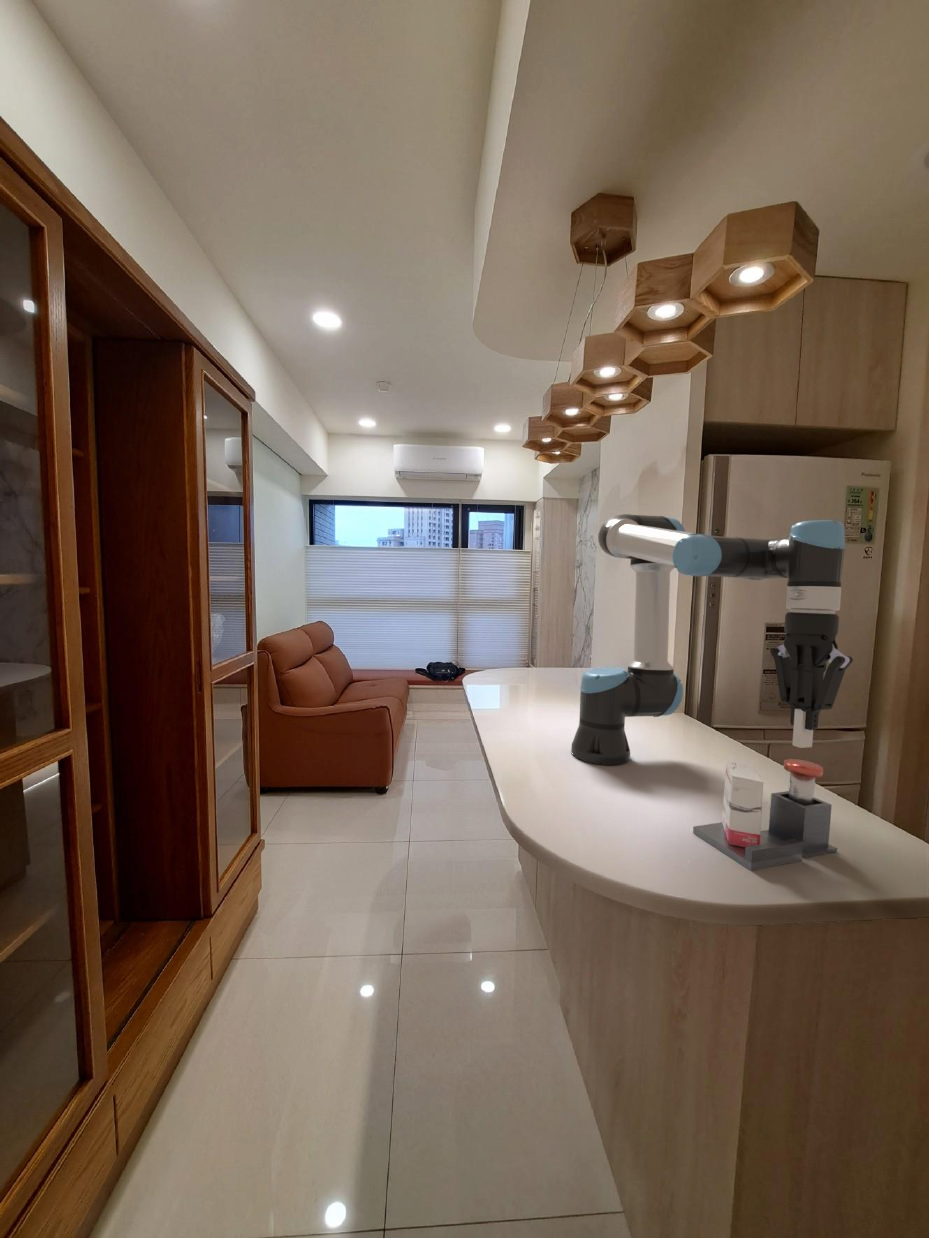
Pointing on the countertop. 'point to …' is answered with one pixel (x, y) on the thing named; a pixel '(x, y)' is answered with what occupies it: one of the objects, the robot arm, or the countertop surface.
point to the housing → (801, 823)
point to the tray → (752, 848)
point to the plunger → (802, 780)
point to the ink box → (742, 805)
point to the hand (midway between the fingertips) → (802, 745)
